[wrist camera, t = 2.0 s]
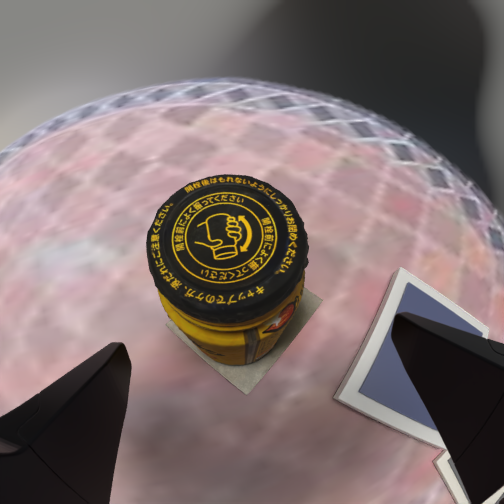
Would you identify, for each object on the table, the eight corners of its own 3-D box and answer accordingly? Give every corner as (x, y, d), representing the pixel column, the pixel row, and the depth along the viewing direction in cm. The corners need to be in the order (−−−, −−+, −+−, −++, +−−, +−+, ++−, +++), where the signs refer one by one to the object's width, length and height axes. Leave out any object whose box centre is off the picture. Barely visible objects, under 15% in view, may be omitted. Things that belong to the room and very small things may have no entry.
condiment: (166, 325, 19) (84, 242, 8) (244, 243, 22) (247, 112, 12) (246, 395, 17) (253, 407, 6) (322, 301, 20) (398, 201, 10)
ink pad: (439, 448, 15) (450, 450, 13) (332, 398, 17) (339, 398, 16) (481, 332, 19) (491, 327, 18) (393, 272, 21) (402, 265, 20)
